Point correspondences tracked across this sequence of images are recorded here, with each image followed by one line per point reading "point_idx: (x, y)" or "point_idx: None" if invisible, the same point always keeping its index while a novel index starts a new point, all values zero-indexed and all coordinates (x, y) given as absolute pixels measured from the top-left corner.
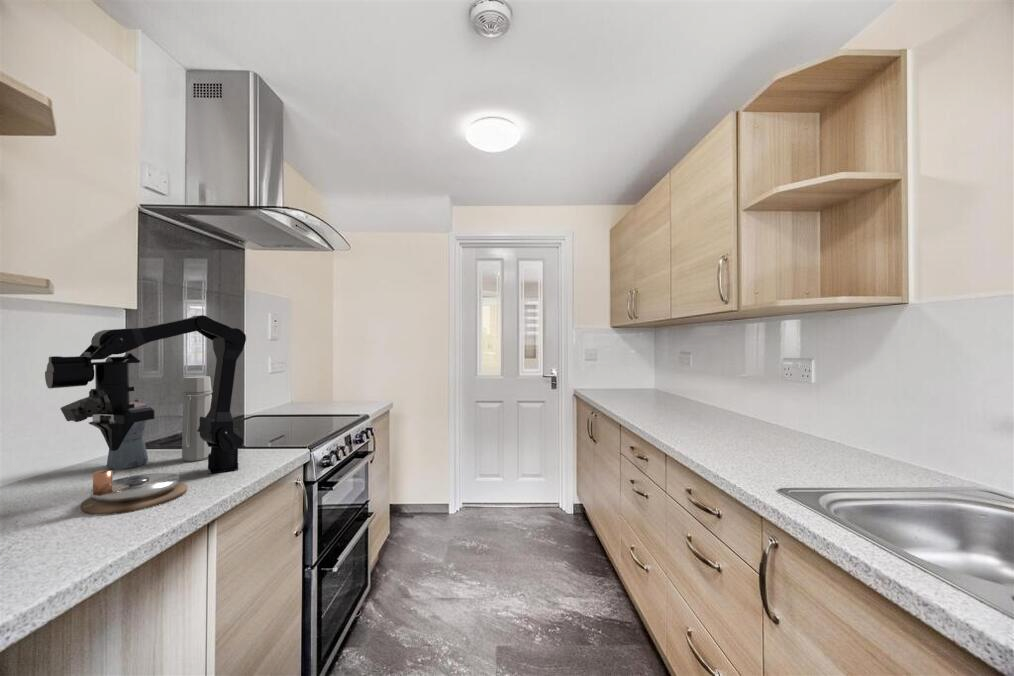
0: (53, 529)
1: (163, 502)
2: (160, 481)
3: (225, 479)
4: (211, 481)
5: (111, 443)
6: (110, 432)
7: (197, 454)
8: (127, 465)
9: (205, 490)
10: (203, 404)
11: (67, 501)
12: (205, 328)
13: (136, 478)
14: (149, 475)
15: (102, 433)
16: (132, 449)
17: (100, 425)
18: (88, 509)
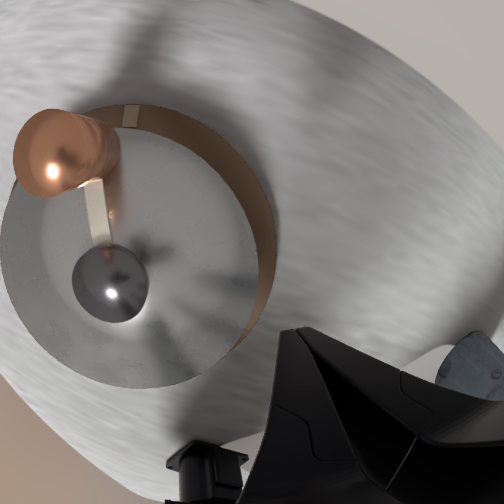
0: (73, 25)
1: None
2: (64, 323)
3: (109, 426)
4: (119, 412)
5: (283, 362)
6: (284, 456)
7: None
8: (450, 360)
9: (49, 366)
10: None
11: (329, 144)
12: None
13: (128, 294)
14: (190, 350)
15: (433, 388)
16: (468, 391)
17: (490, 459)
18: (101, 108)
